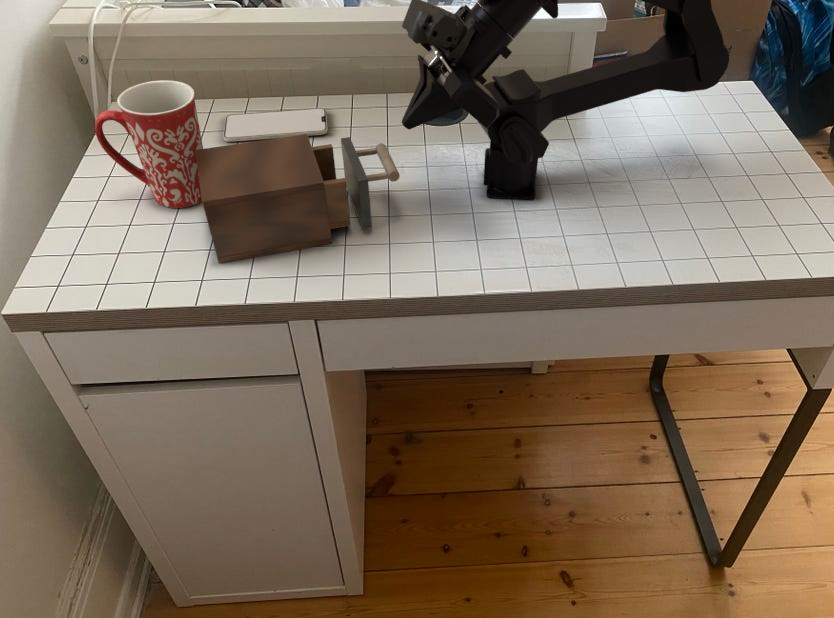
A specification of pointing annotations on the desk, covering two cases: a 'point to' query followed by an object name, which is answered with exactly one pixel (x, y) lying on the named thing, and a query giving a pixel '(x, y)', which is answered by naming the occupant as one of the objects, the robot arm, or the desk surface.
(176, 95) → the mug
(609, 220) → the desk surface
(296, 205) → the cabinet
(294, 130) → the smartphone
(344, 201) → the drawer
